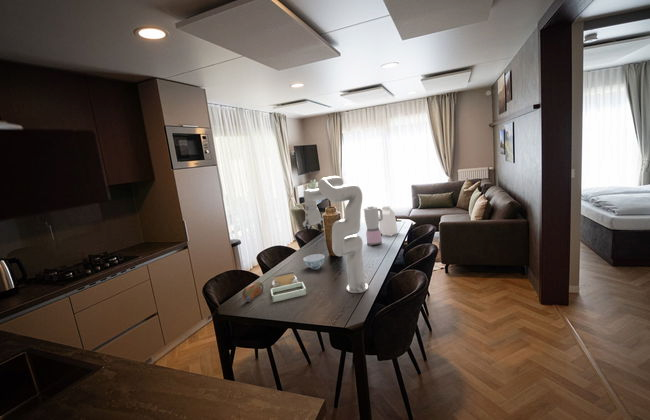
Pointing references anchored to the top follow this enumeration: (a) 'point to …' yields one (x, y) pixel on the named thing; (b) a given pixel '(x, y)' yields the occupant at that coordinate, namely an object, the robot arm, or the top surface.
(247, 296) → the orange plastic package
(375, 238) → the blender
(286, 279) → the tan rectangular block
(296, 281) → the clip holder
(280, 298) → the tray
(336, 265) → the top surface
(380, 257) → the top surface
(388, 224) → the milk
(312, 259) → the chinaware
